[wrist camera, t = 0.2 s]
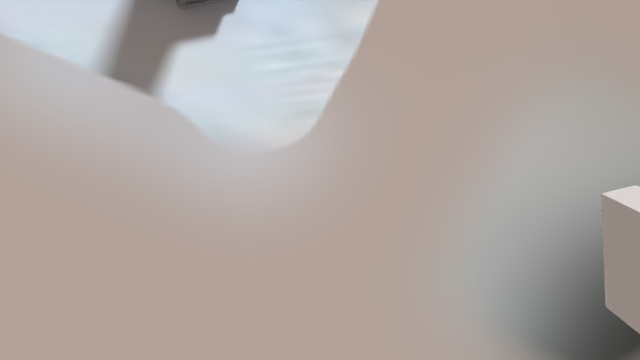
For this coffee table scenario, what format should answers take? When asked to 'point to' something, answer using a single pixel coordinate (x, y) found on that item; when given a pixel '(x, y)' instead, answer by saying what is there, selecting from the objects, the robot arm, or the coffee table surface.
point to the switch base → (193, 2)
